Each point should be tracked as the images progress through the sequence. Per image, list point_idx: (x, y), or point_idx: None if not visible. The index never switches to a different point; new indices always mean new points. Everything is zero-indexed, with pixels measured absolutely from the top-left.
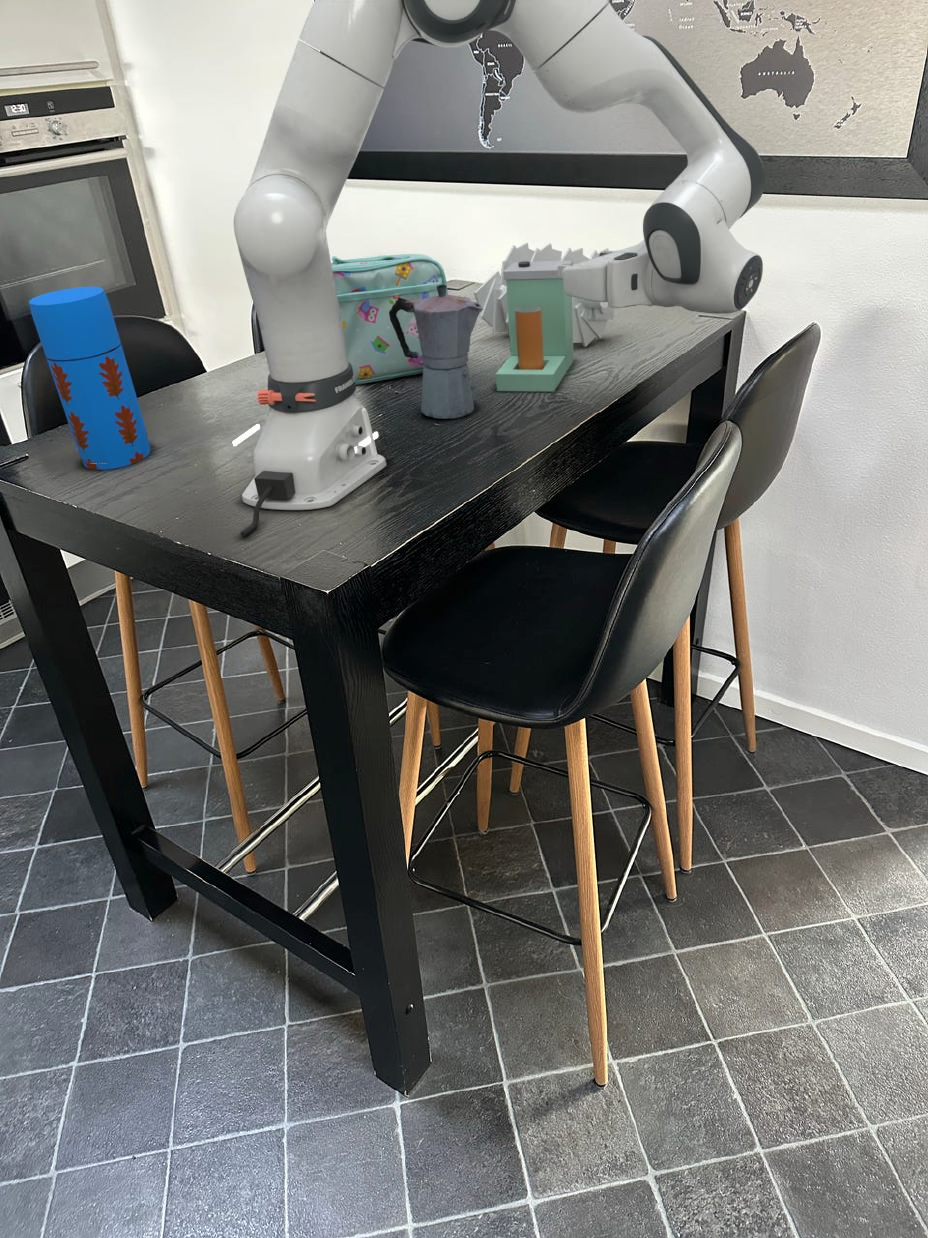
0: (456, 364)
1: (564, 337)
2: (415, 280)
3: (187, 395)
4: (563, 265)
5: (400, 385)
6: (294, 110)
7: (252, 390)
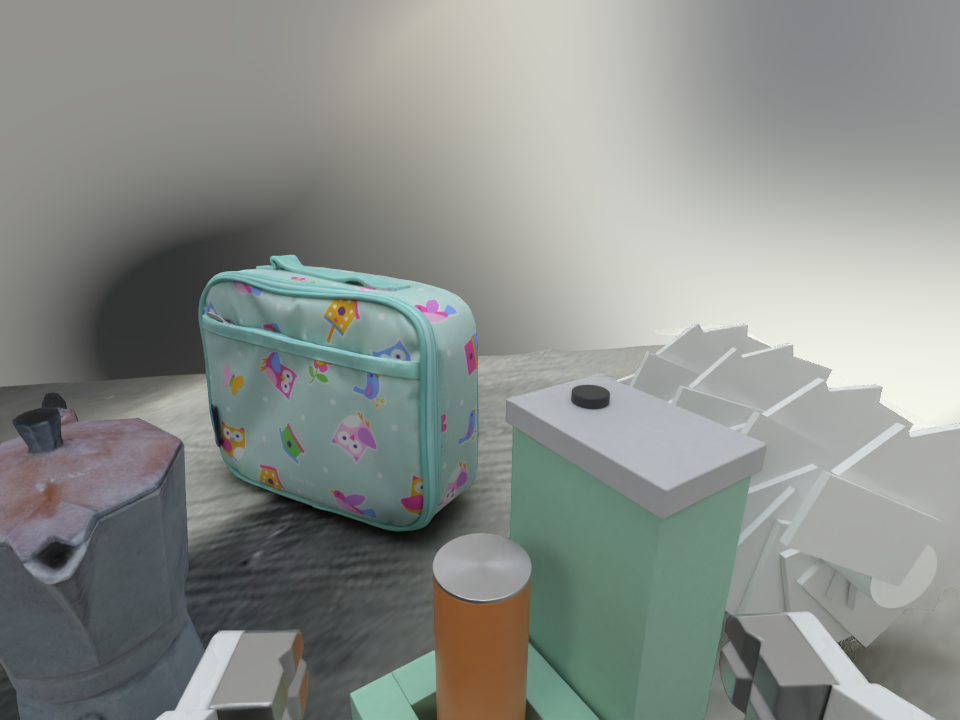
0: (35, 694)
1: (633, 694)
2: (362, 342)
3: (156, 394)
4: (202, 671)
5: (297, 537)
6: None
7: (196, 422)
